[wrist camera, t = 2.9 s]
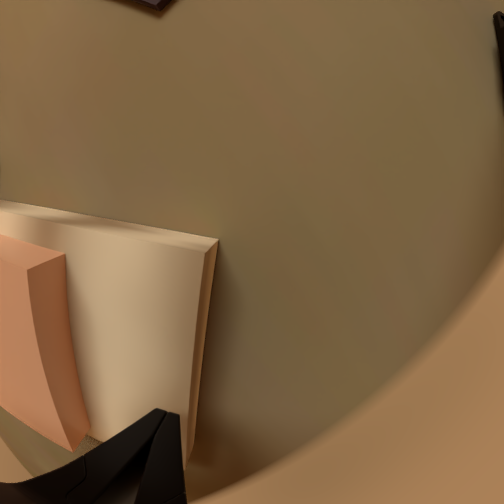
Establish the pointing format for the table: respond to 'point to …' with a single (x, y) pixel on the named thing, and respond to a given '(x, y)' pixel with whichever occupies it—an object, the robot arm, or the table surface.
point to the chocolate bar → (154, 3)
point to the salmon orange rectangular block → (38, 344)
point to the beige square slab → (128, 312)
